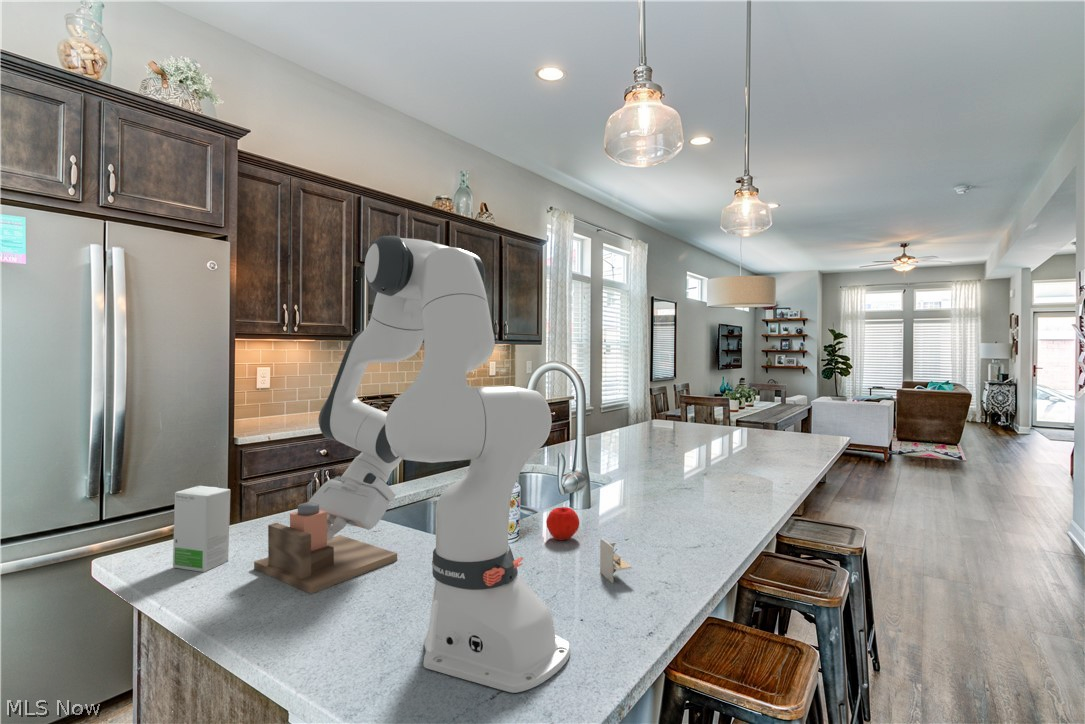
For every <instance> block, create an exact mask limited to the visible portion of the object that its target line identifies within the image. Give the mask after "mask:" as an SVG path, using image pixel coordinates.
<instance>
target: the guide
mask: <svg viewBox="0 0 1085 724" xmlns="http://www.w3.org/2000/svg"><path fill="white" fill-rule="evenodd" d="M267 526H268V527H267V528H268V529H267V537H268V541H267V547H268V550H267V551H268V553H267V555H268V556H267V557H265V558H260V559H258V560H254V561H253V569H254V570H256V571H258V572H261V573H262V574H265V575H267V576H269V577H271V578H273V579H276V580H278V581H281V582H282V583H286V584H287V585H290V586H292V587H294V588H296V589H299V590H301V591H303V592H305V593H308V594H310V595H312V594H315V593H316V592H320V591H322V590H325V589H327V588H330V587H333V586H335V585H337V584H340V583H343V582H346V581H348V580H351V579H353V578H356V577H358V576H360V575H364V574H366V573H368V572H371V571H374V570H376V569H378V568H382V567H384V566H387V565H389V564H392V563H394V562H397V561H398V553H397V552H396V551H395V552H394V551H391V550H388V549H385V548H382V547H378V546H375V545H372V544H369V543H366V542H363V541H360V540H357V539H354V538H351V537H348V536H345V535H342V534H339V535H336V536H335V535H334V536H333V538H332V539H331V540H330V541H328V540H327V546H326V547H323V548H320V549H317V550H314V551H311V534H309V533H306V532H303V531H300V530H297V529H294V528H291V527H290V526H288V525H285V524H281V523H279V522H276V523H275V522H274V523H272V524H268V525H267ZM363 573H364V574H363ZM355 576H356V577H355ZM352 577H353V578H352ZM345 580H346V581H345Z"/></svg>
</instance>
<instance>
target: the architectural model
mask: <svg viewBox="0 0 1085 724" xmlns="http://www.w3.org/2000/svg"><path fill="white" fill-rule="evenodd" d="M599 541H600V547H599V549H600V551H599V555H600V556H599V557H600V558H599V559H600V560H599V561H600V563H599V565H600V566H599V570H600V571H599V573H600V574H601V575H603V576H604V577H605V578H606V579H607V581H609V582H611V584H614V573H616V571H623V570H624V571H626V570H631V569H632V566H631V565H630V564H628V563H627V562H626V561H625V560H624V559H622V557H621V556H619V555H618V554H617V553H616V551H617V550H618V548H616V549H615V550H614V548H615V546H616V544H617V542H608V541H606V540H605V539H603V538H602V537H601V538H600V539H599Z"/></svg>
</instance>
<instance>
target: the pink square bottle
mask: <svg viewBox="0 0 1085 724" xmlns="http://www.w3.org/2000/svg"><path fill="white" fill-rule="evenodd" d="M289 527H291V528H294V529H297V530H300V531H303V532H306V533H309V534H311V551H314V550H317V549H320V548H323V547H326V546H327V512H325V511H322V510H319V503H317V502H309V501H307V502H303V503H299V504H298V505H297V511H295V512H290V513H289Z"/></svg>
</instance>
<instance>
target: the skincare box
mask: <svg viewBox="0 0 1085 724" xmlns="http://www.w3.org/2000/svg"><path fill="white" fill-rule="evenodd" d="M173 508H174V515H173V517H174V518H173V519H174V520H173V546H172V547H173V548H172V567H173V569H174V568H175V569H181V570H188V571H196V572H201V573H206V572H207V571H210V570H212V569H215V568H216V567H218V566H221V565H222V564H225V563H227V562H229V552H230V551H229V547H230V517H231V515H230V513H231V489H230V488H223V487H221V488H220V487H217V486H205V485H196V486H192V487H189V488H185V489H183V490H178V491H176V492H174V507H173Z"/></svg>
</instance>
